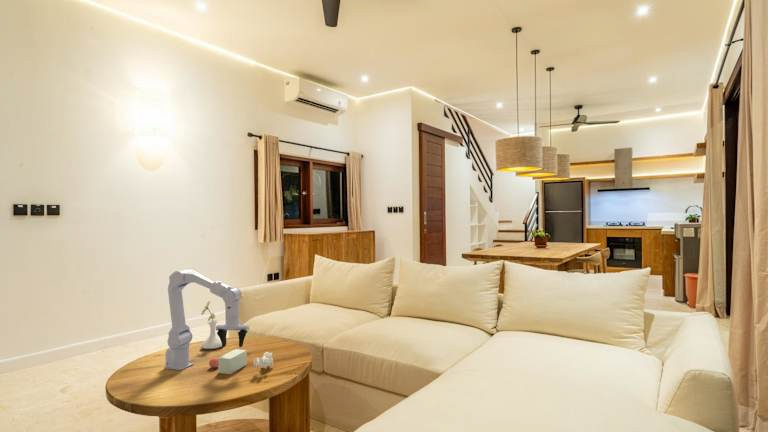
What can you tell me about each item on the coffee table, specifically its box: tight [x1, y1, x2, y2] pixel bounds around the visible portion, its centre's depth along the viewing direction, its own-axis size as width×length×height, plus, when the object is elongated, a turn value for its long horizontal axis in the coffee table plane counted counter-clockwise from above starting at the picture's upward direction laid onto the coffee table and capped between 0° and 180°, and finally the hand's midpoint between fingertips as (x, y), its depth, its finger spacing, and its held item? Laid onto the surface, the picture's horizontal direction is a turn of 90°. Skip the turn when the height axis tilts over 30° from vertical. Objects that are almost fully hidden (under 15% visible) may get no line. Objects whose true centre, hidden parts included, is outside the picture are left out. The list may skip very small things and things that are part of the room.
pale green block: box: [218, 348, 248, 375], centre depth 183 cm, size 6×12×7 cm, turn 164°
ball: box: [208, 357, 219, 369], centre depth 185 cm, size 4×4×4 cm
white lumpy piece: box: [253, 351, 274, 370], centre depth 180 cm, size 8×6×12 cm
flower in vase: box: [200, 300, 223, 350], centre depth 212 cm, size 13×11×25 cm
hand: (232, 346), depth 182 cm, fingers open, 7 cm apart
